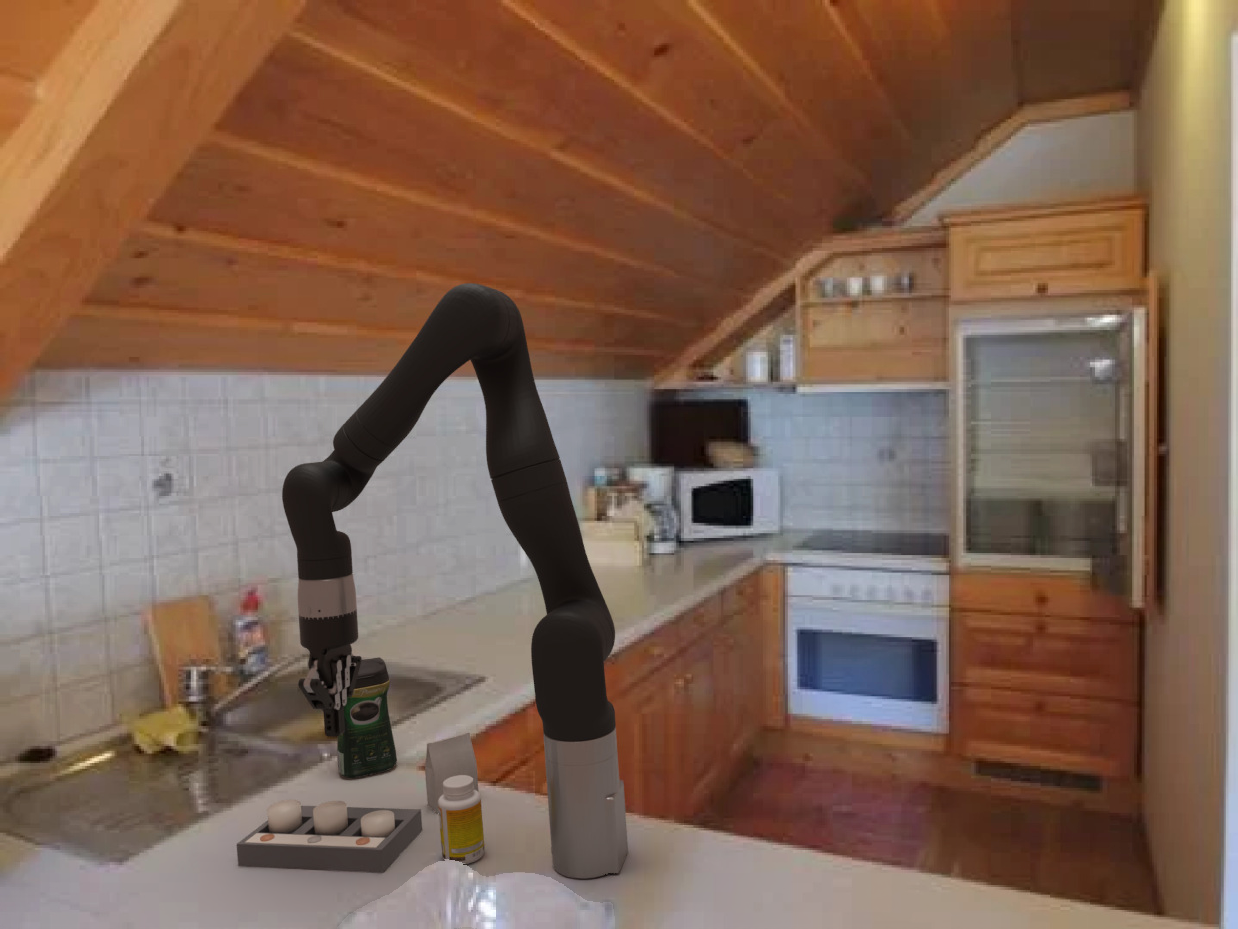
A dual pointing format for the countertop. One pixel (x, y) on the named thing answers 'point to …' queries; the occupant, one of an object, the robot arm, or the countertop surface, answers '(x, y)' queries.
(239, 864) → the button board
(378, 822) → the button
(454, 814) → the supplement bottle
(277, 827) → the button
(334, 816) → the middle button
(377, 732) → the coffee jar
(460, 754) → the grey carton box
